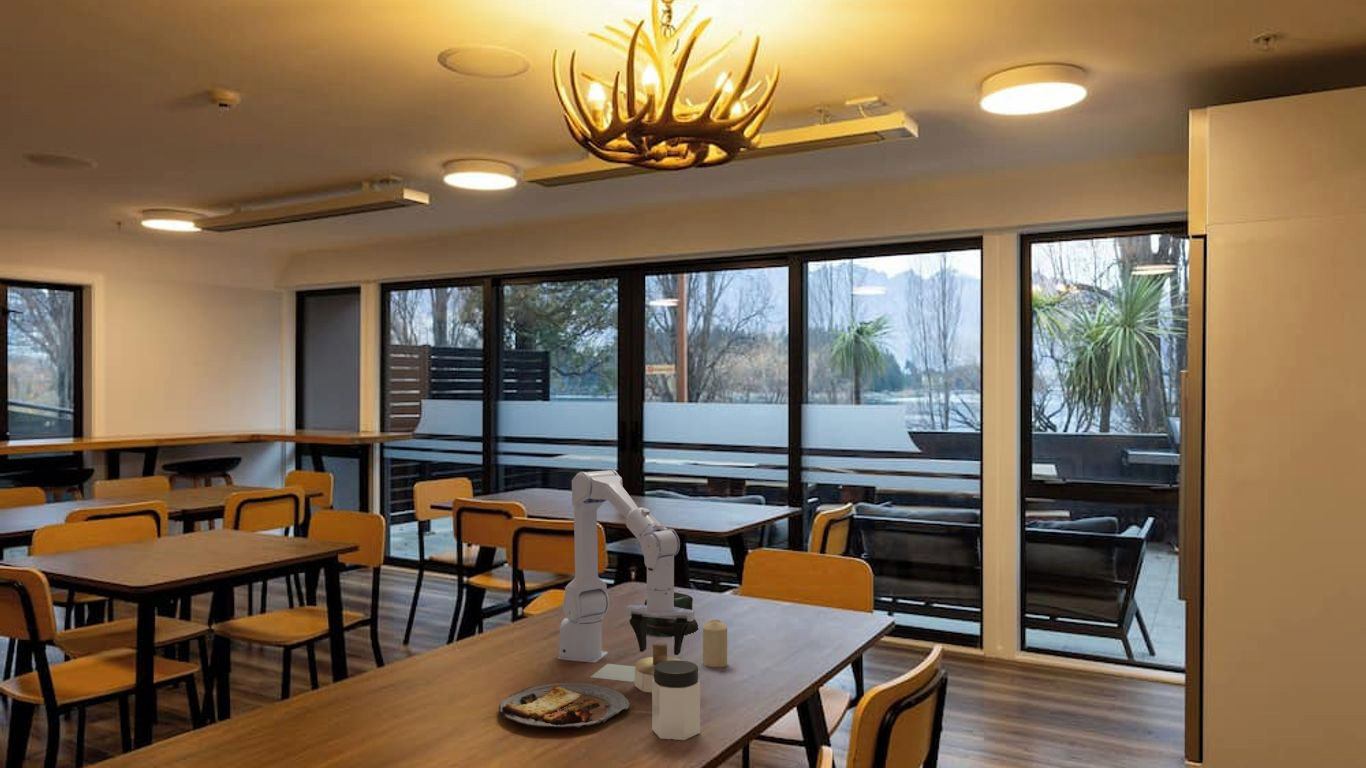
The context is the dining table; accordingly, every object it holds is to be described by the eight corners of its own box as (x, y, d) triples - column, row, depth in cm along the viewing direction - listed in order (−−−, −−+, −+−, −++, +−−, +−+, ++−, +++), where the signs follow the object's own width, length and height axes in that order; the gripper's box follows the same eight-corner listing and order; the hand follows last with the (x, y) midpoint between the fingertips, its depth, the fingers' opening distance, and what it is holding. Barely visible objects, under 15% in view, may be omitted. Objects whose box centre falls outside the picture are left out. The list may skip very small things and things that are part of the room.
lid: (628, 673, 192) (629, 649, 192) (643, 658, 202) (643, 636, 202) (677, 677, 189) (677, 653, 189) (689, 662, 199) (689, 639, 199)
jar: (674, 719, 176) (675, 656, 176) (708, 730, 171) (708, 665, 171) (642, 733, 169) (643, 667, 169) (676, 744, 164) (677, 677, 164)
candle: (725, 669, 207) (725, 624, 207) (700, 667, 208) (700, 623, 208) (728, 662, 213) (728, 618, 213) (705, 660, 214) (705, 617, 214)
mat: (590, 678, 200) (590, 677, 200) (607, 665, 210) (607, 663, 210) (633, 683, 197) (633, 681, 197) (649, 669, 207) (649, 667, 207)
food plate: (569, 746, 163) (569, 725, 164) (473, 721, 176) (473, 702, 176) (648, 708, 185) (649, 690, 185) (558, 688, 197) (558, 671, 197)
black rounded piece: (668, 644, 227) (668, 607, 227) (613, 629, 241) (613, 594, 241) (721, 629, 242) (721, 593, 242) (666, 616, 255) (667, 582, 255)
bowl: (629, 691, 192) (629, 672, 192) (645, 676, 202) (645, 658, 202) (675, 696, 189) (675, 677, 189) (689, 681, 199) (689, 662, 199)
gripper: (621, 589, 194) (621, 654, 194) (687, 594, 189) (687, 660, 189) (633, 582, 200) (632, 645, 200) (697, 587, 196) (697, 651, 196)
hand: (660, 652), depth 195 cm, fingers open, 7 cm apart
